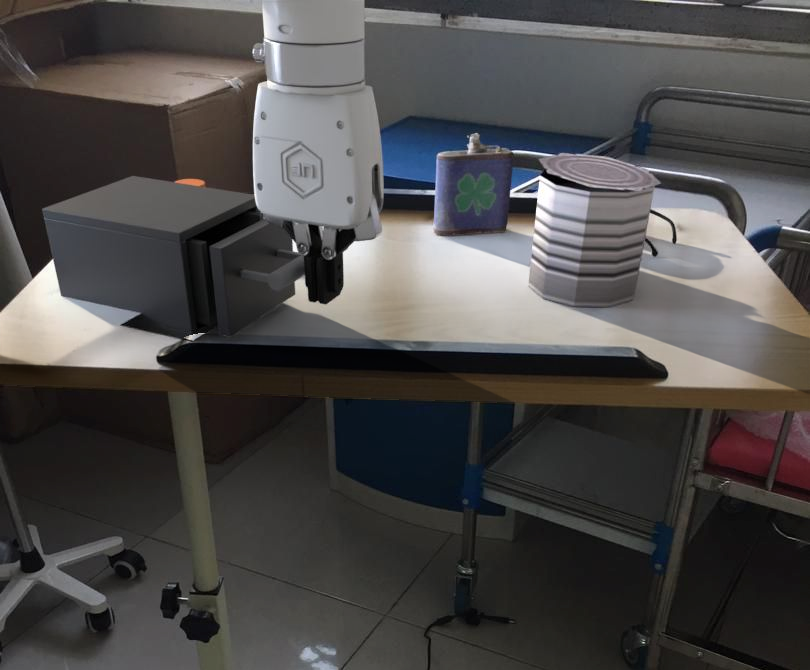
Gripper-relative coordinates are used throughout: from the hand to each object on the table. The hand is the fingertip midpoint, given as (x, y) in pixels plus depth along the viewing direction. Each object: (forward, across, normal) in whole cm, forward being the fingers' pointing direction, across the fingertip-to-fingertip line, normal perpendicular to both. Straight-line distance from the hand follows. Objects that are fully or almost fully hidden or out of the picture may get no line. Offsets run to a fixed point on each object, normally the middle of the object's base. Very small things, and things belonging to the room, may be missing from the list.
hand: (325, 297), depth 78 cm
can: (+4, +18, +23) cm, 29 cm away
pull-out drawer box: (+3, -11, 0) cm, 11 cm away
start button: (0, -28, +20) cm, 35 cm away
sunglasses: (+4, +18, +40) cm, 44 cm away
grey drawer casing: (+4, -17, 0) cm, 18 cm away
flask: (+4, 0, +35) cm, 35 cm away
